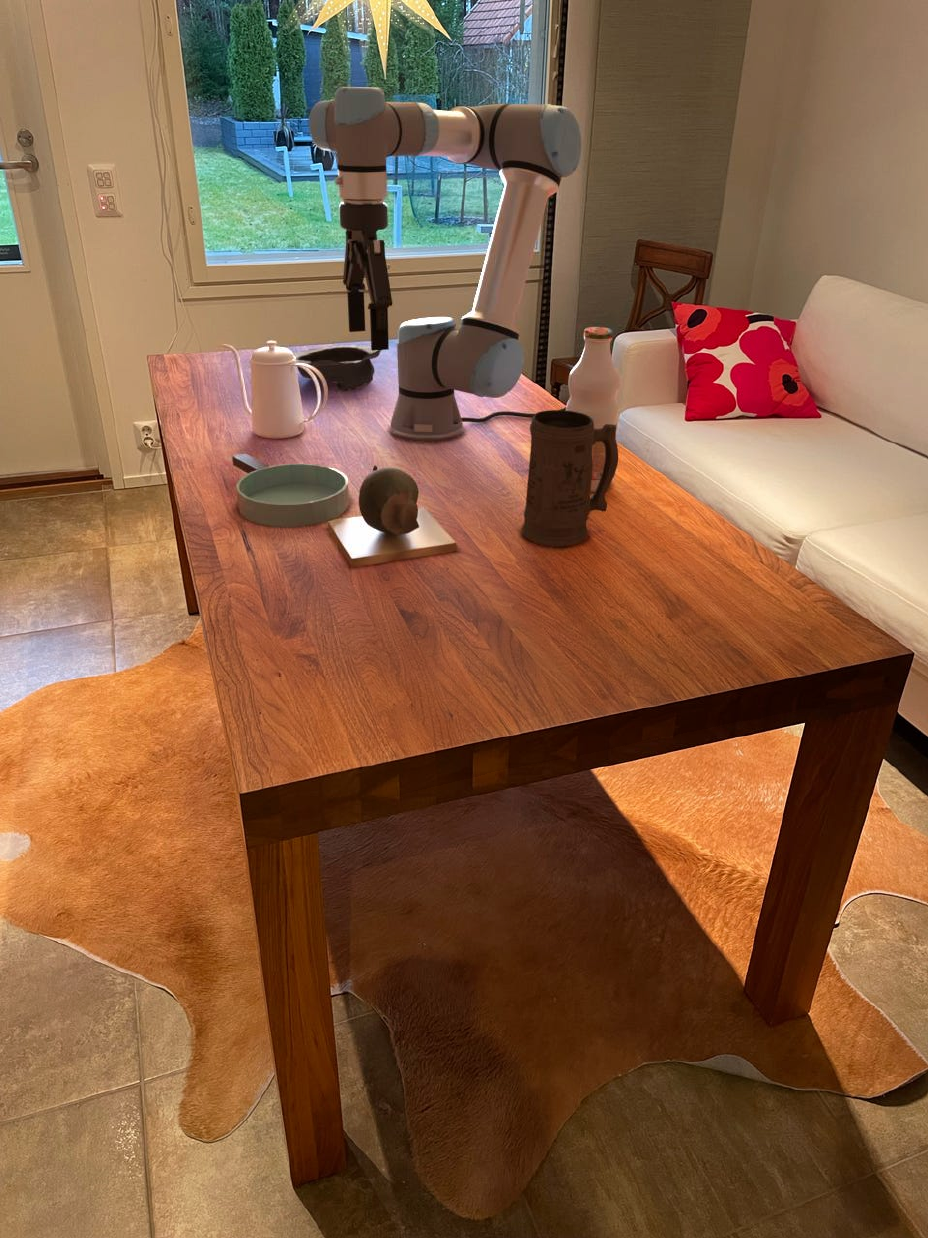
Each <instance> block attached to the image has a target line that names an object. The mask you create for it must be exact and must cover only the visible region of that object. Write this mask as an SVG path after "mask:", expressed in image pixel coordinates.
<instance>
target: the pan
mask: <svg viewBox="0 0 928 1238" xmlns="http://www.w3.org/2000/svg"><path fill="white" fill-rule="evenodd" d="M269 466H270V465H269ZM235 491H236V492H235V493H236V502H237V508H238V511H239V514H240V515H241V516H242V517H243V518H245V519H246V520H249V521H250V522H252V523H256V524H259V525H263V526H269V527H277V528H278V527H279V528H295V527H306V526H307V527H308V526H313V525H317V524H321V523H325V522H328V521H331V520H334V519H335V518H337V517H340V516H341V515H342V514H343V513H345V512H346V511H347V509H348V508H349V505H350V491H349V478H348V477H347V475H346V474H344V472H342V471H340V470H339V469H336V468H332V467H329V466H326V465H320V464H314V463H284V464H274V465H271V466H270V467H265V468H261V469H258V470H256V471H253V472H250V473H246V474H245V475H243V476H241V477H240V478H239V480H237V481H236V486H235Z"/></svg>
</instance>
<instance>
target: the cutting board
mask: <svg viewBox="0 0 928 1238" xmlns="http://www.w3.org/2000/svg"><path fill="white" fill-rule="evenodd" d="M417 522H418V524H419V528H417V529H415V530H414V531H412V532H410V533H407V534H394V533H386V532H381V531H378V530H376V529H374V528H372V527H370V526H369V525H367V524H366V522H365V521H364V519H363V517H362V515H359V516H353V517H346V518H339V519H331V520H328V521H327V529H328V532H329V533H330V534H331V536H332V537H333V540H334V541H335V542H336V544H337V546H338V547H339V550H341V552H342V553H343V555H344V557H345V559H346V560H347V562H348V563H349V565H350V566H351V568H357V567H364V566H371V565H376V564H382V563H388V562H389V563H390V562H394V561H395V562H396V561H402V560H403V561H404V560H408V559H415V558H421V557H428V556H432V555H440V554H447V553H453V552H457V542H456V541H455V540H454V539H453V537H452V536H451V534H449V533H448V532H447V530H445V528H444V527H443V526H442V525H441V524H440V523H439V521H437V519H436V518H435V517H434V516H433V515H432V514H431V512H430V511H429V510H428V509H427V508H426V507H418V515H417Z"/></svg>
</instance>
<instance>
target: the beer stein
mask: <svg viewBox="0 0 928 1238" xmlns="http://www.w3.org/2000/svg"><path fill="white" fill-rule="evenodd" d="M533 414H534V415H533V417H532V418H531V422H530V425H529V431H530V453H529V464H528V475H527V484H526V485H527V486H526V496H525V497H526V498H525V508H524V510H523V524H522V528H521V533H522V535H523V536H524V537H525V538H526V539H527V540H528V541H531V542H532V543H535V544H538V545H541V546H546V547H553V548H554V547H555V548H561V547H562V548H563V547H572V546H576V545H578V544H582V542H584V541H585V540H586V539H587V537H588V527H587V522H588V519H589V515H590V513H591V512H593V511H598V512H603V513H604V512H607V509H608V501H607V500H606V493H607V492H608V489H609V487H610V485H611V483H612V482H613V479H614V477H615V475H616V472H617V469H618V464H619V449H618V443H617V439H616V438H617V437H616V436H617V435H616V436H615V432H616V433H617V429H616V425H613V424H605V425H604V426H603V428H601V429H597V430H595V429H594V421H593V419H592V418H591V417H589V416H588V415H585V414H583V413H578V412H574V411H563V410H560V409H551V410H542V411H537V412H536V414H535V413H533ZM600 441H601V442H603V443H604V445H605V449H606V451H605V463H604V468H603V472H602V475H601V478H600V481H599V484H598V486H597V488H596V491H595V492H593V495H592V496H591V492H590V491H591V481H592V468H593V462H592V446H593V445H594V444H595V443H596V442H600Z"/></svg>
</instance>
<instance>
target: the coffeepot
mask: <svg viewBox="0 0 928 1238" xmlns="http://www.w3.org/2000/svg"><path fill="white" fill-rule="evenodd" d="M277 344H278V342H277V340H268V341H267V340H266V342H265V345H266V346H264V347H260V348H257V349H255V350H254V351H253V352H252V353H251V357H250V358H249V360H248V361H249V364H250V388H251V394H250V395H251V408H250V406H249V402H248V398H247V392H246V387H245V381H244V374H243V370H242V369H243V368H242V364H241V358H240V355H239V353H238V350H236V348H234V346H232V345H230V344H226V343H222V344H220V345H218V346H217V347H218V348H222V349H227V350H229V351H230V352H231V353H232V354H233V356H234V358H235V363H236V369H237V370H236V371H237V374H238V375H237V376H238V381H239V387H240V392H241V399H242V403H243V407H244V410H245V411H246V413H247V414H248V415H250V416H251V427H252V431H253V433H254V434H255V435H257V436H259V437H262V438H266V439H275V440H277V439H288V438H293V437H296V436H298V435H300V434H301V433H302V432H303V431H304V430H305V427H306V423H307V422H309V421H311V420H313V419H315V418H316V417H317V416H318V415H320V413H321V412H322V411H323V410H324V408H325V407H326V403H327V400H328V397H329V396H328V394H329V390H328V384H327V381H326V380H325V379H324V377H323V375H322V374H321V373H320V372H319V370H317V369H316V368H315V367H313V366H310V365H308V364H303V363H297V364H296V357H295V356H293V353H294V352H292V351H291V350H290V349H289V348H286V347H282V346H277ZM297 366H298V367H301V368H302V369H304V370H305V371H306V372H308V374H309V375H310V376H311V377H312V379H311V380H312V382H314V386H315V389H316V404H315V407H314V410H313V411H312V413H311V415H310V416H309V417H308V418H306V419H305V416H304V409H303V404H302V403H303V402H302V396H301V390H300V385H299V383H300V382H299V377H298V371H297V370H298V369H297ZM310 369H311V370H313V371H314V372H315V373H316V374H317V375H318V376H319V378H320V379H321V380H320V382H321V384H322V386H323V400H322V394H321V387H320V382H319V380H317V378H316V376H315V375H314V373H313V372H312V371H311V370H310ZM321 400H322V403H321ZM320 405H321V406H320Z"/></svg>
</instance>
